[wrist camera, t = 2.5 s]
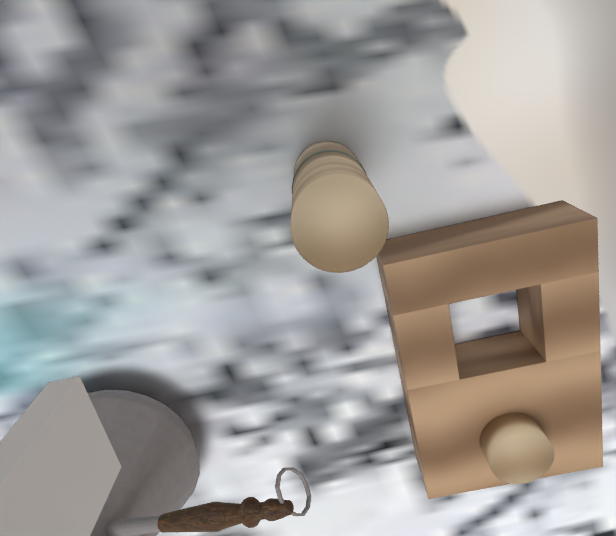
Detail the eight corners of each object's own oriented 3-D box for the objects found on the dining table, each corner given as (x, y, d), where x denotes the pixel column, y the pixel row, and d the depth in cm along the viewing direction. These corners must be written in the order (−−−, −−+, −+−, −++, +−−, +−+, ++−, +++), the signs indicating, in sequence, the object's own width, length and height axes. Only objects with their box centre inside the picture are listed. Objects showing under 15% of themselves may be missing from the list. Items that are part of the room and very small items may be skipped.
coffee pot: (123, 515, 41) (31, 747, 27) (18, 419, 37) (-151, 630, 23) (346, 388, 37) (374, 586, 23) (251, 267, 33) (216, 413, 19)
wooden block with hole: (373, 242, 32) (388, 279, 27) (562, 200, 32) (618, 228, 26) (416, 457, 39) (435, 522, 33) (573, 427, 38) (620, 489, 33)
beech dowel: (285, 148, 30) (278, 190, 20) (353, 132, 30) (380, 166, 20) (301, 213, 32) (302, 283, 21) (366, 198, 31) (397, 262, 21)
